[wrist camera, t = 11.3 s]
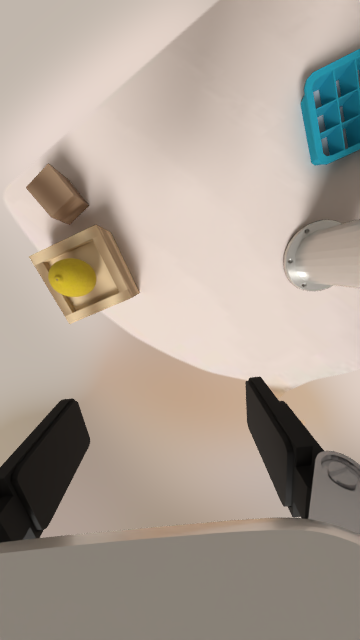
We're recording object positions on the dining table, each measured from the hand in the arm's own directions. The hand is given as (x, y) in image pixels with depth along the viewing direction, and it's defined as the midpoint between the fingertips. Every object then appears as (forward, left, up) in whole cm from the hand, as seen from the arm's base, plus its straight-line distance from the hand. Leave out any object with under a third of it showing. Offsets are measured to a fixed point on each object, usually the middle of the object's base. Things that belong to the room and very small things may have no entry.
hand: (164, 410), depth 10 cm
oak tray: (+14, -8, -28) cm, 33 cm away
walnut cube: (+16, -21, -28) cm, 39 cm away
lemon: (+14, -8, -24) cm, 28 cm away
